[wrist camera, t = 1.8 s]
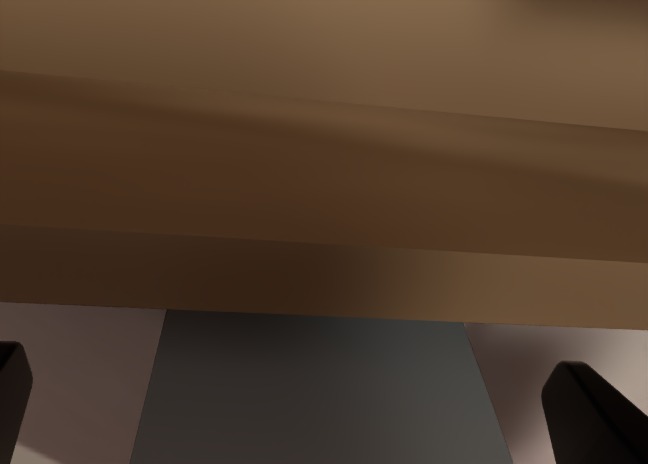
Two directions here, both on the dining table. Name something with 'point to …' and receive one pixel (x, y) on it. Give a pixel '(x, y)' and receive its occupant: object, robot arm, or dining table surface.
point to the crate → (328, 158)
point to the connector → (315, 393)
